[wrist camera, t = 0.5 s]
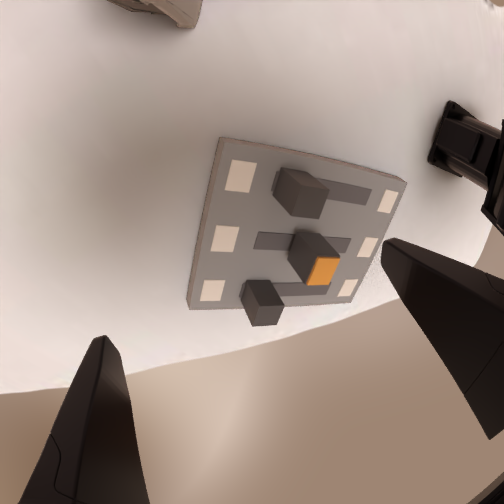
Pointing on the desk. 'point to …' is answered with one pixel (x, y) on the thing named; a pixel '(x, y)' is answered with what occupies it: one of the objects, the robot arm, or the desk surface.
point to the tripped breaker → (313, 258)
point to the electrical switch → (166, 9)
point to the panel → (284, 228)
